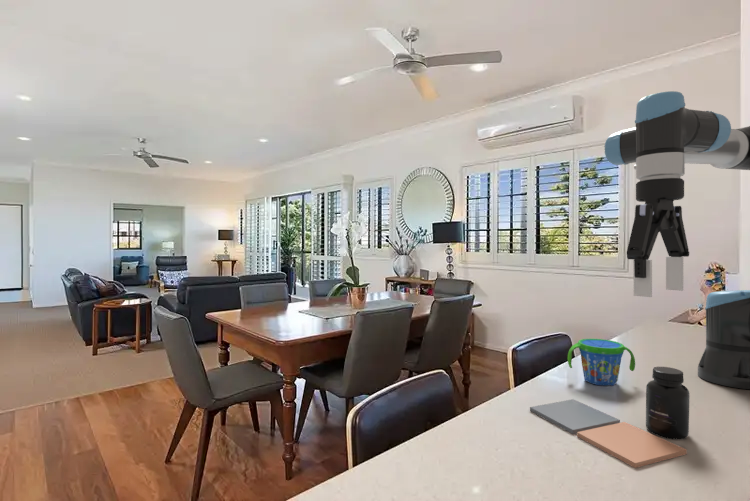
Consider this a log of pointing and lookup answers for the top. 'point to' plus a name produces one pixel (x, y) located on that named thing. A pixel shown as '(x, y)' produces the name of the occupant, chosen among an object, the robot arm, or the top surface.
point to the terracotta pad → (631, 444)
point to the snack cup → (601, 360)
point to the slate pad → (573, 415)
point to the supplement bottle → (667, 404)
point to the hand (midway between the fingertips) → (659, 293)
